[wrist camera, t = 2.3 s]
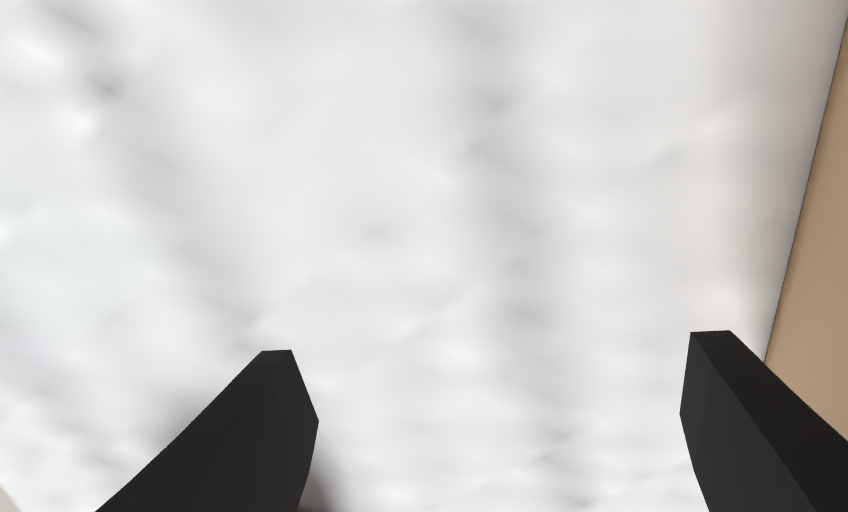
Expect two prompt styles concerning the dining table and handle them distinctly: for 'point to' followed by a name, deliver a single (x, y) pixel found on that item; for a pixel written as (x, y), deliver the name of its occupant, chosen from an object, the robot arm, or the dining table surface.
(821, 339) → the carton
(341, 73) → the dining table surface
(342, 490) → the dining table surface
